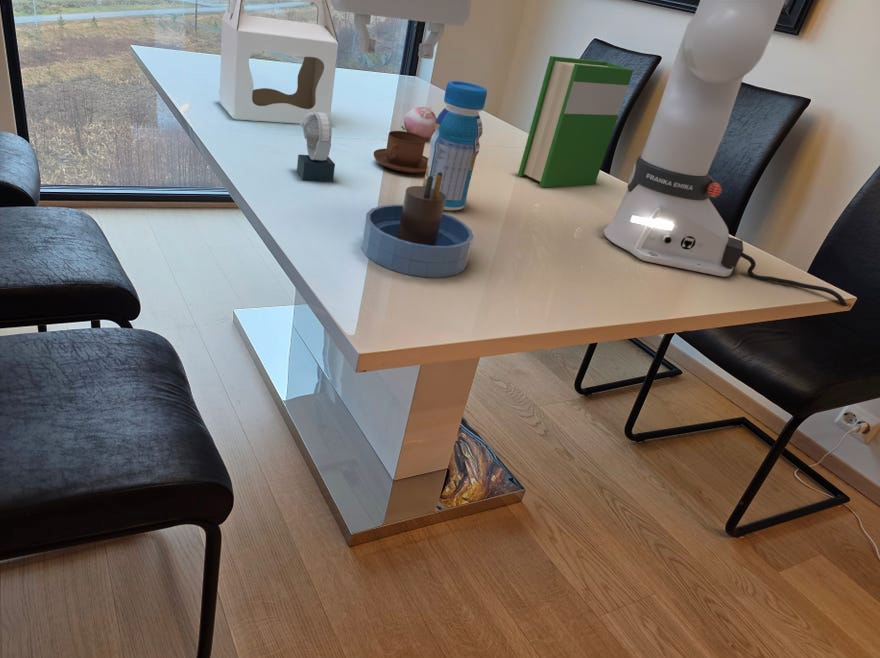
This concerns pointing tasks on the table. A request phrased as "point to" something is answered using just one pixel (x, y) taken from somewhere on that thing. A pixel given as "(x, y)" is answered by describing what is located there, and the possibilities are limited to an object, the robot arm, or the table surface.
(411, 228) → the pot
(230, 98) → the gable box
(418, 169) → the cup and saucer
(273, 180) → the table surface
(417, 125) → the onion
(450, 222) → the bowl
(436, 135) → the beverage bottle
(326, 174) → the watch
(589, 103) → the hardback book
